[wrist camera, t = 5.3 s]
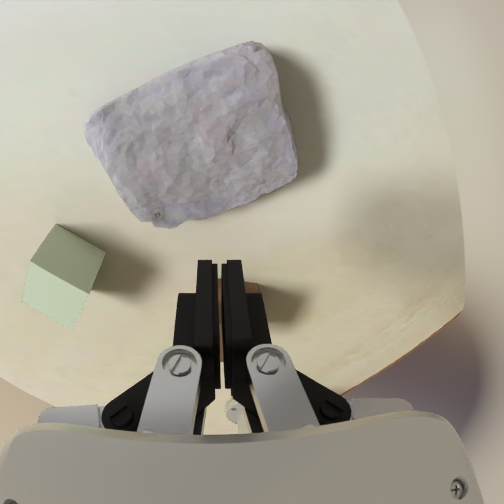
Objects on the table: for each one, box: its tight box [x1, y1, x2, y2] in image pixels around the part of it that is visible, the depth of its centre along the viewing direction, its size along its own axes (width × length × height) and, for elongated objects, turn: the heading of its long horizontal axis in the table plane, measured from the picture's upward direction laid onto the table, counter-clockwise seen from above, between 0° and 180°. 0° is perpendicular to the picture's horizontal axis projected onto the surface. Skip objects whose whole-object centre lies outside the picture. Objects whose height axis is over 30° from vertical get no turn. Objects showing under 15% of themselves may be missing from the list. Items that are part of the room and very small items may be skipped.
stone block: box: [84, 41, 299, 229], centre depth 17 cm, size 12×5×10 cm
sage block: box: [21, 224, 106, 330], centre depth 21 cm, size 5×5×5 cm
